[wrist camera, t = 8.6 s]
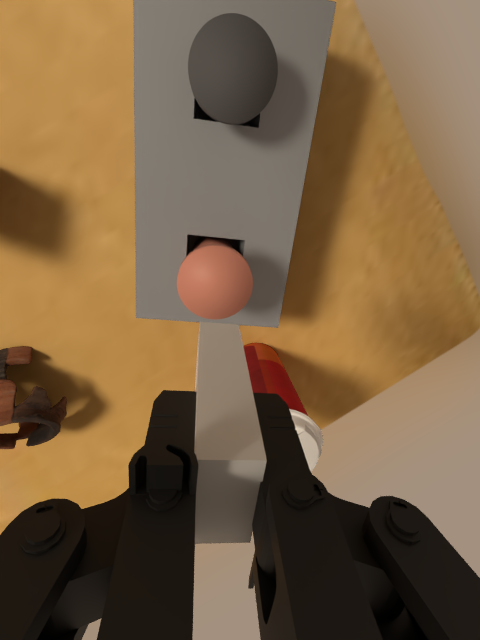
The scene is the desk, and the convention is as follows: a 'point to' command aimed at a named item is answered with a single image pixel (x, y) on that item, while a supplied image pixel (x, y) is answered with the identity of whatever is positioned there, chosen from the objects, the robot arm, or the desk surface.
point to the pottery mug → (26, 406)
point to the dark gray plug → (232, 68)
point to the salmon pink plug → (214, 279)
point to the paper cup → (283, 395)
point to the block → (221, 152)
